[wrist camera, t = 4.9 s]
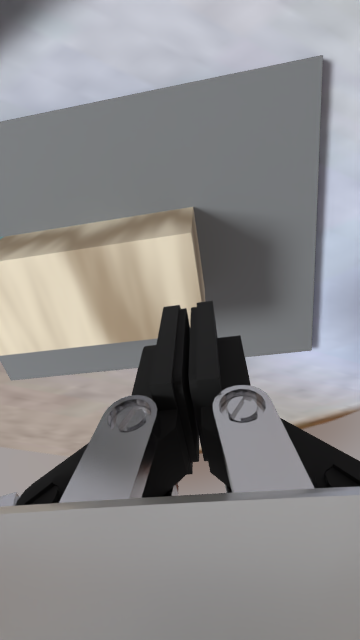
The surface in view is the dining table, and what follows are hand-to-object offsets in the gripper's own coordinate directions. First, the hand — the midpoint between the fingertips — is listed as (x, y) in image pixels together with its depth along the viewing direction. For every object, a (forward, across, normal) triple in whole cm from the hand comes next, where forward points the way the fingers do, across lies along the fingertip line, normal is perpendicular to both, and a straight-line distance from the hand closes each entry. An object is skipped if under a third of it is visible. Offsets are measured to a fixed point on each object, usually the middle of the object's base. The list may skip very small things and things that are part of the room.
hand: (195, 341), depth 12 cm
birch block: (+7, 0, 0) cm, 7 cm away
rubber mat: (+10, +4, 0) cm, 11 cm away
